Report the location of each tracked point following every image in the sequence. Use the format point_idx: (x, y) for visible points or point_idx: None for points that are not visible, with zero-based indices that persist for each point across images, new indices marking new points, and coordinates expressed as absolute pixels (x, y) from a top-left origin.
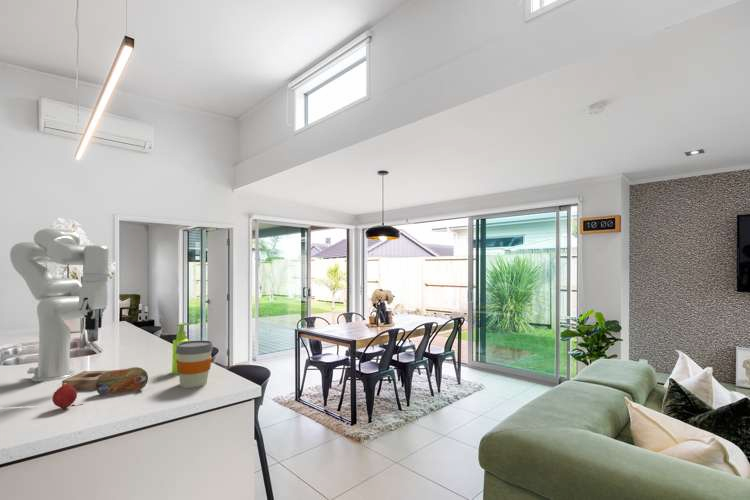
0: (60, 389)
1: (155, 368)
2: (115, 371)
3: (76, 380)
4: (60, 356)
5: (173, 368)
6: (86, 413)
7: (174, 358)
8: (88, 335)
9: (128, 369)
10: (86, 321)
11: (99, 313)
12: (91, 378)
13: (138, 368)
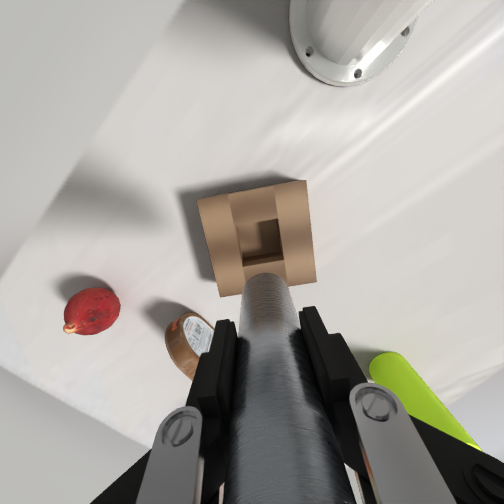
0: (65, 322)
1: (434, 290)
2: (192, 373)
3: (206, 239)
4: (365, 8)
5: (378, 370)
6: (102, 351)
7: None
8: (243, 303)
9: None
10: (188, 395)
11: (366, 501)
12: (227, 268)
13: None
